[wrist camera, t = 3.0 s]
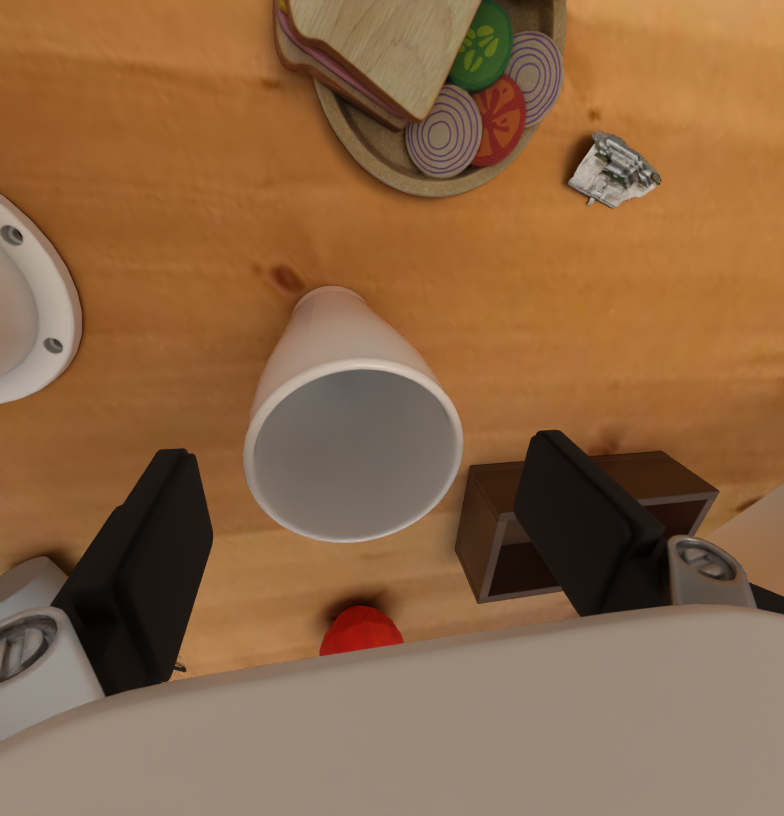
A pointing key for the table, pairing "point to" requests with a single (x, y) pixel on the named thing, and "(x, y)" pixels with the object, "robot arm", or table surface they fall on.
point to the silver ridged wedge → (613, 172)
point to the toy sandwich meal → (428, 81)
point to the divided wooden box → (512, 548)
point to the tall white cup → (348, 425)
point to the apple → (360, 631)
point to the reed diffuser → (32, 587)
